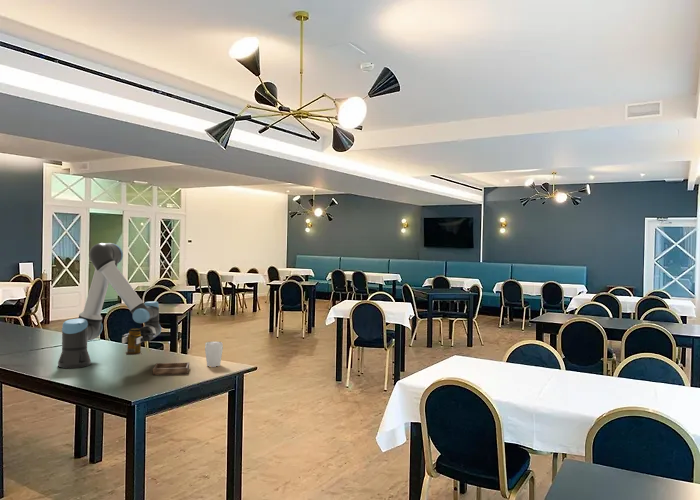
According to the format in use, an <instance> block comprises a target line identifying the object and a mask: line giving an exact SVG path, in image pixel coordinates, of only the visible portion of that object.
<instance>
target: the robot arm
mask: <svg viewBox="0 0 700 500" xmlns="http://www.w3.org/2000/svg"><path fill="white" fill-rule="evenodd" d="M123 253H124V252H123V250H122V249H121V247H120V246H119V245H117V243H116V244H115V243H112V242H100V243H95V244H94V245H93V246H92V247H91V248H90V249H89V252H88V256H89V260H90V262H91V264H92V266H93V268H94V273H93V276H92V280H91V283H90V287H89V291H88V293H87V297H86V301H85V304H84V307H83V308H84V309H83V311H82V312H80V313H79V314H78V316H77V317H78V318H72V319H71V318H70V319H67V320H65V321H63V323H62V328H61V335H62V337H61V353H60V355H59V357H58V361H57V367H58V366H59V367H64V368H63V369H79V367H80V368H85V367H89V366H91V363H92V361H91V358H90V354H89V351H88V341H93V340H95V339H96V338H97V337H99V336H100V335H101V334H102V331H103V327H104V326H103V323H102V321H103V316H102V315H101V313H102V310H103V307H104V302H105V300H106V295H107V292H108V288H109V285H110V286H111V287H112V288H113V290H114V292H116V295H117V296H119V298H120V299H121V301H122V302H123V303H124V304H125V306H126V307H127V309H129V311H130V313H131V314H132V320H133V321H134V322H135V323H137V324H143V325H144V326H142V327H140V328H139V329H140V334H141V337H138V338H137V341H136V344H139V343H144V342H145V343H146V342H151V341H152V340H154V339H155V338H156V337H158V336H159V335H160V334H161V332H162V326H161V324H160V305H159V302H158V301H154V300H153V301H145V302H144V301H143V300H142V298H140V296H139V294H138V293H137V292H136V291H135V289H134V287H132V285H131V284H130V283H129V281H128V280H127V279H126V277H125V276H124V275H123V273H122V272H121V270H120V269H119V268H118V264H119V263H120V262H121V261H122V260H123V257H124V254H123ZM128 335H129V332H128V333H125V334H122V335H121V344H123V345H124V344H126V343H128ZM59 367H58V368H59Z"/></svg>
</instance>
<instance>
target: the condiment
mask: <svg viewBox="0 0 700 500" xmlns="http://www.w3.org/2000/svg"><path fill="white" fill-rule="evenodd" d="M128 333H129V335H128V342H127V349H126V351H124V353H125V355H126V356H140V355H143V352H142V351H141V347H142V344H141V343H142V342H141V343H139V344H136V341H137V338H138V337H141V334H140V328H139V327H137V328H136V327H134V328H130V329H128Z"/></svg>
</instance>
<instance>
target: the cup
mask: <svg viewBox="0 0 700 500" xmlns="http://www.w3.org/2000/svg"><path fill="white" fill-rule="evenodd" d="M223 349H224V346H223V342H222V341H215V340H214V341H206V342H205V348H204V350H205V352H204V353H205V361H206V366H207V367H208V366H211V367H210V368H217V367H216V366H218V367H220V366H221V362H222V356H223Z"/></svg>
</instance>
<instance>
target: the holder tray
mask: <svg viewBox="0 0 700 500" xmlns="http://www.w3.org/2000/svg"><path fill="white" fill-rule="evenodd" d="M188 370H189V371H190V362H157V363H155V365H154V367H153V368H152V375H153V376H161V375H162V376H167V375H169V376H170V375H173V376H174V375H188V374H189V371H188ZM187 373H188V374H187Z"/></svg>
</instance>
